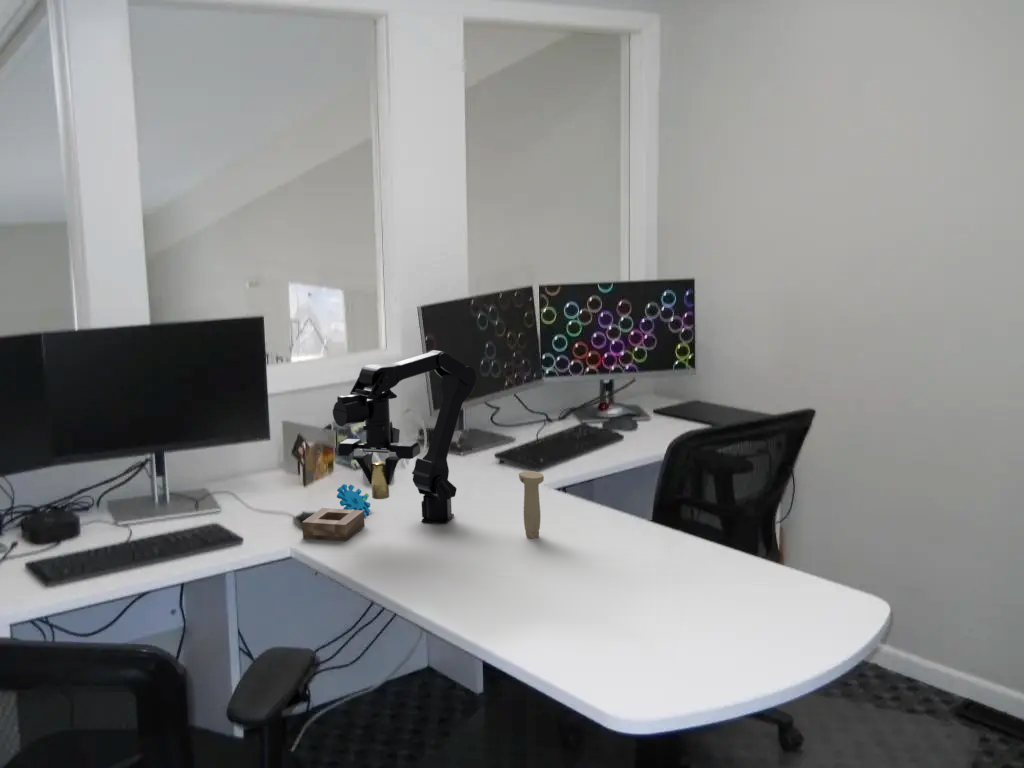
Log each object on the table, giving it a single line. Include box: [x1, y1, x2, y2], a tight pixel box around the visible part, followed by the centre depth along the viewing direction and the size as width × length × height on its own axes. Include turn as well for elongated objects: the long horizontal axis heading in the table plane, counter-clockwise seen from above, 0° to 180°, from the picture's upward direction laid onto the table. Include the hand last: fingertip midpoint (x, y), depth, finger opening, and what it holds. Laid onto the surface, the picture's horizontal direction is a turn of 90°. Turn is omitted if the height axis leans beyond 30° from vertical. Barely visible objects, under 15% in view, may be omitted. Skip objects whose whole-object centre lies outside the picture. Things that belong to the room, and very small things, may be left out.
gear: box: [336, 483, 371, 518], centre depth 254 cm, size 11×6×10 cm
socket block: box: [301, 507, 365, 542], centre depth 240 cm, size 11×11×4 cm
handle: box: [518, 470, 544, 539], centre depth 233 cm, size 5×6×15 cm
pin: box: [371, 461, 390, 500], centre depth 235 cm, size 4×4×8 cm
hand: (380, 484), depth 235 cm, fingers closed on pin, 4 cm apart
